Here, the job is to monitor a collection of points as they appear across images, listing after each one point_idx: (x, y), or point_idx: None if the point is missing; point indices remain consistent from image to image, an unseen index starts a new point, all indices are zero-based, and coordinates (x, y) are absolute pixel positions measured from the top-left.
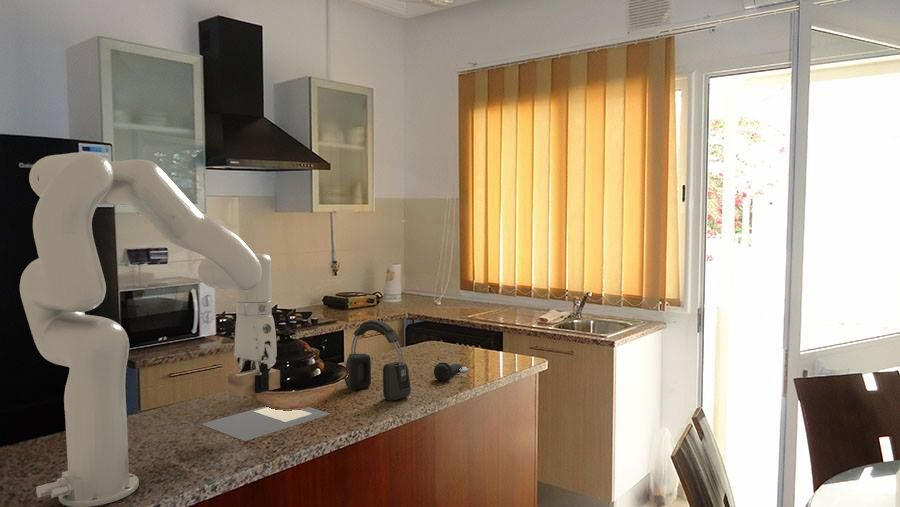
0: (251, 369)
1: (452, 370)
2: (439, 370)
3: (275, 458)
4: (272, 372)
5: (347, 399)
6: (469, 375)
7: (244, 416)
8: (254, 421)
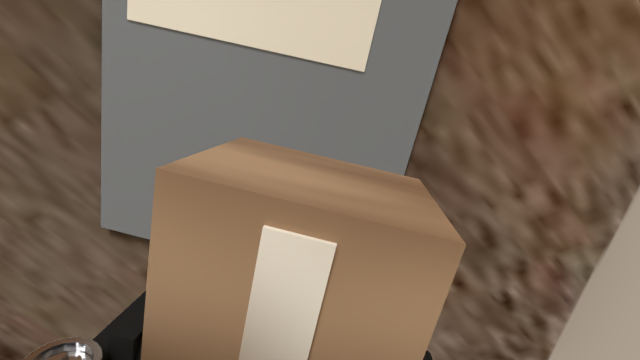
0: (119, 355)
1: None
2: None
3: (548, 346)
4: (424, 344)
5: None
6: None
7: (153, 91)
8: (238, 123)
